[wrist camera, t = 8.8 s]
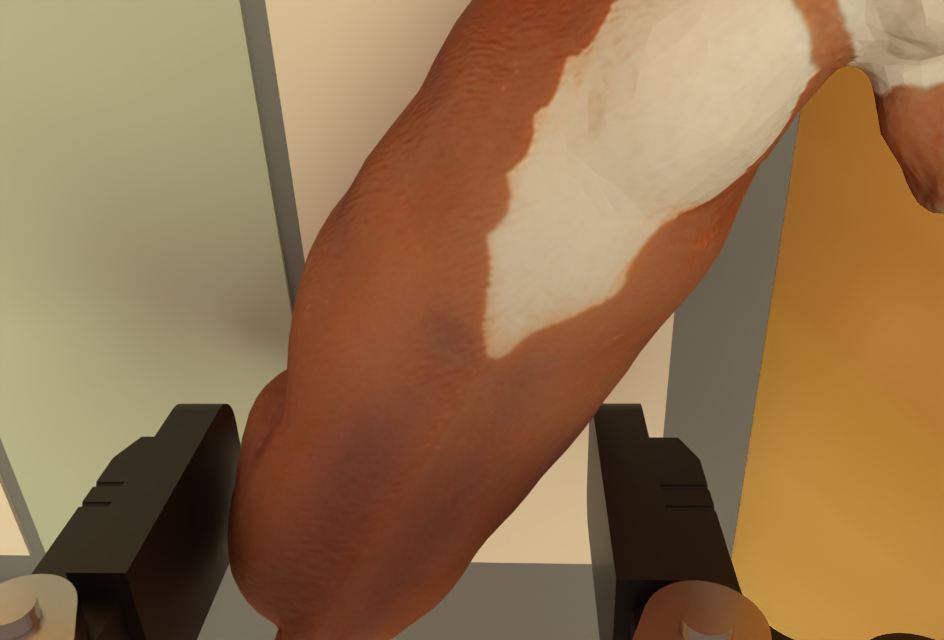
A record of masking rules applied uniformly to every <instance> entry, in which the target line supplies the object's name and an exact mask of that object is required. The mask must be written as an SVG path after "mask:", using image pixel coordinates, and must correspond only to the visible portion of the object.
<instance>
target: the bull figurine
mask: <svg viewBox="0 0 944 640" xmlns="http://www.w3.org/2000/svg"><path fill="white" fill-rule="evenodd" d="M844 66H852V67H857V68H860V69H862V70H863V71H864V72H865V73H866V74H867V75H868V76H869V78H870V81H871V83H872V87H873V92H874V96H875V102H876V108H877V114H878V120H879V125H880V131H881V135H882V136H883V138H884V140H885V141H886V143H887V145H888V146H889V148H890V150H891V151H892V153H893V155H894V156H895V158H896V159H897V161H898V163H899V164H900V166H901V168H902V170H903V173H904V176H905V179H906V181H907V184H908V186H909V188H910V190H911V192H912V193H913V195H914V197H915V198H916V200H917V202H918V203H919V204H920V205H921V206H923V207H924V208H926V209H927V210H928V211H930V212H933V213H944V0H471V2H470V3H469V4H468V6H467V7H466V8H465V10H464V11H463V13H462V14H461V15H460V17H459V18H458V19H457V21H456V22H455V24H454V25H453V27H452V29H451V31H450V33H449V34H448V36H447V38H446V40H445V42H444V43H443V45H442V47H441V49H440V51H439V52H438V54H437V56H436V58H435V60H434V62H433V64H432V66H431V68H430V70H429V72H428V74H427V76H426V78H425V80H424V82H423V84H422V86H421V88H420V90H419V91H418V93H417V94H416V95H415V97H414V98H413V99H412V100H411V102H410V103H409V104H408V105H407V107H406V108H405V109H404V110H403V112H402V113H401V114H400V115H399V117H398V118H397V119H396V120H395V122H394V123H393V124H392V125H391V127H390V128H389V129H388V131H387V132H386V133H385V135H384V136H383V137H382V139H381V140H380V141H379V142H378V144H377V145H376V146H375V148H374V149H373V150H372V152H371V153H370V154H369V156H368V157H367V158H366V160H365V161H364V163H363V165H362V167H361V169H360V170H359V172H358V174H357V176H356V177H355V179H354V181H353V183H352V184H351V186H350V188H349V189H348V191H347V192H346V193H345V195H344V196H343V197H342V198H341V200H340V201H339V202H338V203H337V205H336V206H335V207H334V208H333V210H332V211H331V213H330V214H329V216H328V218H327V219H326V221H325V223H324V224H323V226H322V228H321V229H320V231H319V233H318V235H317V237H316V239H315V241H314V243H313V245H312V247H311V249H310V251H309V254H308V257H307V259H306V262H305V265H304V268H303V270H302V273H301V277H300V282H299V286H298V290H297V295H296V300H295V305H294V310H293V316H292V321H291V328H290V334H289V343H288V359H287V369H286V370H284V371H283V372H281V373H280V374H278V375H277V376H276V377H275V378H273V379H272V380H271V381H270V382H269V383H268V384H267V385H266V386H265V387H264V388H263V389H262V391H261V392H260V393H259V395H258V396H257V397H256V400H255V402H254V404H253V406H252V408H251V410H250V412H249V415H248V419H247V422H246V426H245V429H244V433H243V437H242V442H241V449H240V456H239V462H238V468H237V473H236V479H235V486H234V491H233V494H232V498H231V505H230V512H229V518H228V531H227V540H228V554H229V561H230V568H231V572H232V576H233V578H234V580H235V582H236V584H237V586H238V588H239V590H240V592H241V593H242V595H243V596H244V598H245V599H246V601H247V602H248V603H249V604H250V605H251V606H252V607H253V608H254V609H255V610H256V611H257V612H258V613H259V614H260V615H262V616H263V617H265V618H266V619H267V620H269V621H270V622H272V623H273V624H275V625H276V627H277V628H278V631H277V634H276V637H275V640H390V639H392V638H394V637H396V636H397V635H398V634H399V633H401V632H402V631H403V630H405V629H406V628H407V627H409V626H410V625H411V624H413V623H414V622H416V621H417V620H418V619H420V618H421V617H423V616H424V615H425V614H427V613H428V612H430V611H431V610H432V609H433V608H435V607H436V606H437V605H438V604H439V603H440V602H441V601H442V600H443V599H444V598H445V597H446V596H447V595H448V593H449V592H450V591H451V590H452V589H453V587H454V586H455V585H456V583H457V582H458V581H459V579H460V578H461V576H462V575H463V574H464V572H465V570H466V569H467V567H468V566H469V564H470V562H471V561H472V559H473V558H474V556H475V555H476V553H477V552H478V550H479V549H480V548H481V547H482V545H483V544H484V543H485V542H486V540H487V539H488V538H489V537H490V536H491V535H492V534H493V533H494V532H495V531H496V530H497V529H498V528H499V526H500V525H501V524H502V523H503V522H504V521H505V520H506V519H507V518H508V517H509V516H510V515H511V514H512V513H513V512H514V511H515V510H516V508H517V507H518V506H519V505H520V504H521V503H522V501H523V500H524V499H525V498H526V497H527V496H528V494H529V493H530V492H531V490H532V489H533V488H534V487H535V485H536V484H537V483H538V481H539V480H540V479H541V478H542V476H543V475H544V474H545V473H546V472H547V471H548V470H549V469H550V468H551V467H552V465H553V464H554V463H555V462H556V461H557V460H558V459H559V458H560V457H561V456H562V455H563V454H564V452H565V451H566V450H567V449H568V448H569V447H570V446H571V444H572V443H573V442H574V441H575V440H576V438H577V437H578V436H579V435H580V434H581V432H582V431H583V430H584V429H585V427H586V426H587V425H588V423H589V422H590V421H591V419H592V418H593V416H594V415H595V414H596V412H597V411H598V409H599V408H600V406H601V405H602V403H603V402H604V401H605V399H606V398H607V397H608V395H609V394H610V393H611V392H612V390H613V389H614V388H615V387H616V385H617V384H618V383H619V382H620V380H621V379H622V378H623V377H624V375H625V374H626V373H627V371H628V370H629V368H630V367H631V365H632V364H633V362H634V361H635V359H636V358H637V356H638V355H639V353H640V352H641V351H642V350H643V348H644V347H645V346H646V345H647V343H648V342H649V341H650V340H651V338H652V337H653V336H654V335H655V333H656V332H657V331H658V330H659V328H660V327H661V326H662V325H663V324H664V323H665V322H666V320H667V319H668V318H669V317H670V316H671V315H672V314H673V313H674V312H675V311H676V309H677V308H678V307H679V306H680V305H681V304H682V303H683V301H684V300H685V299H686V298H687V297H688V295H689V294H690V293H691V292H692V291H693V289H694V288H695V287H696V286H697V285H698V283H699V282H700V281H701V280H702V279H703V277H704V276H705V275H706V274H707V272H708V271H709V269H710V267H711V266H712V264H713V263H714V261H715V259H716V258H717V256H718V255H719V253H720V251H721V250H722V248H723V246H724V243H725V241H726V239H727V237H728V234H729V232H730V230H731V227H732V225H733V223H734V220H735V217H736V215H737V212H738V210H739V207H740V205H741V202H742V200H743V198H744V196H745V194H746V192H747V190H748V188H749V186H750V184H751V182H752V181H753V179H754V177H755V174H756V172H757V170H758V168H759V166H760V164H761V162H763V161H764V160H766V159H767V157H768V156H769V154H770V153H771V152H772V150H773V149H774V147H775V146H776V144H777V143H778V141H779V140H780V138H781V137H782V136H783V134H784V133H785V132H786V131H787V130H788V128H789V126H790V125H791V123H792V121H793V120H794V118H795V116H796V114H797V113H798V112H799V110H800V109H801V108H802V107H803V106H804V105H805V104H806V102H807V101H808V100H809V99H810V98H811V97H812V96H813V94H814V93H815V92H816V91H817V90H818V89H819V88H820V87H821V85H822V84H823V83H824V82H825V81H826V80H827V78H828V77H829V76H830V75H832V74H833V73H834V72H835V71H836V70H837V69H840V68H842V67H844Z"/></svg>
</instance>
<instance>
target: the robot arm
mask: <svg viewBox="0 0 944 640" xmlns="http://www.w3.org/2000/svg"><path fill="white" fill-rule="evenodd" d="M240 449H241V444H240V439H239V434H238V429H237V424H236V419H235V415H234V412H233V409H232V408H231V406H230V405H229V404H177V405H176V406H175V407H174V408H173V409H172V411H171V412H170V414H169V415H168V417H167V418H166V420H165V421H164V423H163V424H162V426H161V428H160V429H159V431H158V432H157V434H156V435H155V437H140V438H139V439H138V440H136V441H135V442H134V443H132V444H131V445H130V446H128V447H127V448H125V449H124V450H123V451H121V452H120V453H119V454H117V455H116V456H115V457H113V459H112V460H111V461H110V463H109V464H108V466H107V467H106V469H105V470H104V471H103V473H102V474H101V476H100V477H99V479H98V480H97V481H96V487H92V488H91V490H90V491H89V493H88V494H87V496H86V497H85V498H84V500H83V501H82V507H78V508H77V510H76V511H75V513H74V514H73V515H72V517H71V518H70V520H69V521H68V523H67V524H66V525H65V527H64V528H63V530H62V531H61V532H60V534H59V535H58V537H57V538H56V540H55V541H54V542H53V544H52V545H51V547H50V548H49V550H48V551H47V552H46V554H45V555H44V557H43V558H42V559H41V561H40V562H39V564H38V565H37V567H36V568H35V569H34V571H33V572H32V574H31V575H26V576H21V577H18V578H14V579H11V580H8V581H6V582H3V583H1V584H0V640H197V638H198V636H199V633H200V631H201V629H202V626H203V624H204V622H205V619H206V617H207V615H208V612H209V610H210V608H211V605H212V603H213V601H214V598H215V596H216V593H217V591H218V589H219V586H220V584H221V582H222V579H223V577H224V575H225V572H226V570H227V568H228V565H229V563H230V561H229V554H228V540H227V531H228V518H229V512H230V505H231V498H232V494H233V491H234V486H235V479H236V473H237V468H238V462H239V456H240ZM587 521H588V533H589V543H590V553H591V562H592V572H593V581H594V591H595V600H596V610H597V619H598V629H599V638H600V640H793V639H791V638H789V637H787V636H785V635H783V634H781V633H779V632H778V631H776V630H774V629H773V628H772V627H770V626H769V624H768V622H767V620H766V618H765V617H764V615H763V613H762V612H761V611H760V610H759V609H758V607H757V606H756V605H755V604H754V603H753V602H751V601H750V600H749V599H748V598H746V597H745V596H743V595H742V592H741V590H740V587H739V584H738V581H737V577H736V574H735V571H734V568H733V564H732V561H731V558H730V555H729V552H728V548H727V545H726V542H725V539H724V536H723V532H722V529H721V526H720V523H719V519H718V516H717V513H716V511H714V503H713V500H712V497H711V494H710V491H709V490H708V484H707V481H706V478H705V474H704V471H703V468H702V465H701V462H700V459H699V458H698V457H697V456H696V455H695V454H694V453H693V452H692V451H691V450H690V449H689V448H688V447H687V446H686V445H685V444H684V443H683V442H682V441H681V440H680V439H679V438H678V437H649V435H648V431H647V426H646V422H645V418H644V413H643V409H642V406H641V404H640V403H602V405H601V406H600V408H599V409H598V411H597V412H596V414H595V415H594V416H593V418H592V419H591V421H590V422H589V438H588V468H587ZM871 640H934V639H931V638H927V637H924V636H919V635H914V634H905V633H893V634H885V635H881V636H877V637H875V638H873V639H871Z"/></svg>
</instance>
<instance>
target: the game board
mask: <svg viewBox="0 0 944 640" xmlns="http://www.w3.org/2000/svg"><path fill="white" fill-rule="evenodd" d="M470 2H471V0H0V584H1V583H3V582H6V581H8V580H11V579H14V578H18V577H21V576H26V575H31V574H32V572H33V571H34V569H35V568H36V567H37V565H38V564H39V562H40V561H41V559H42V558H43V557H44V555H45V554H46V552H47V551H48V550H49V548H50V547H51V545H52V544H53V542H54V541H55V540H56V538H57V537H58V535H59V534H60V532H61V531H62V530H63V528H64V527H65V525H66V524H67V523H68V521H69V520H70V518H71V517H72V515H73V514H74V513H75V511H76V510H77V508H78V507H82V501H83V500H84V498H85V497H86V496H87V494H88V493H89V491H90V490H91V488H92V487H96V481H97V480H98V479H99V477H100V476H101V474H102V473H103V471H104V470H105V469H106V467H107V466H108V464H109V463H110V461H111V460H112V459H113V457H115V456H116V455H117V454H119V453H120V452H121V451H123V450H124V449H125V448H127V447H128V446H130V445H131V444H132V443H134V442H135V441H136V440H138V439H139V438H140V437H155V435H156V434H157V432H158V431H159V429H160V428H161V426H162V424H163V423H164V421H165V420H166V418H167V417H168V415H169V414H170V412H171V411H172V409H173V408H174V407H175V406H176V405H177V404H229V405H230V406H231V408H232V409H233V412H234V415H235V419H236V424H237V429H238V434H239V439H240V444H241V442H242V437H243V433H244V429H245V426H246V422H247V419H248V415H249V412H250V410H251V408H252V406H253V404H254V402H255V400H256V397H257V396H258V395H259V393H260V392H261V391H262V389H263V388H264V387H265V386H266V385H267V384H268V383H269V382H270V381H271V380H272V379H273V378H275V377H276V376H277V375H278V374H280V373H281V372H283V371H284V370H286V369H287V359H288V343H289V334H290V328H291V321H292V316H293V310H294V305H295V300H296V295H297V290H298V286H299V282H300V277H301V273H302V270H303V268H304V265H305V262H306V259H307V257H308V254H309V251H310V249H311V247H312V245H313V243H314V241H315V239H316V237H317V235H318V233H319V231H320V229H321V228H322V226H323V224H324V223H325V221H326V219H327V218H328V216H329V214H330V213H331V211H332V210H333V208H334V207H335V206H336V205H337V203H338V202H339V201H340V200H341V198H342V197H343V196H344V195H345V193H346V192H347V191H348V189H349V188H350V186H351V184H352V183H353V181H354V179H355V177H356V176H357V174H358V172H359V170H360V169H361V167H362V165H363V163H364V161H365V160H366V158H367V157H368V156H369V154H370V153H371V152H372V150H373V149H374V148H375V146H376V145H377V144H378V142H379V141H380V140H381V139H382V137H383V136H384V135H385V133H386V132H387V131H388V129H389V128H390V127H391V125H392V124H393V123H394V122H395V120H396V119H397V118H398V117H399V115H400V114H401V113H402V112H403V110H404V109H405V108H406V107H407V105H408V104H409V103H410V102H411V100H412V99H413V98H414V97H415V95H416V94H417V93H418V91H419V90H420V88H421V86H422V84H423V82H424V80H425V78H426V76H427V74H428V72H429V70H430V68H431V66H432V64H433V62H434V60H435V58H436V56H437V54H438V52H439V51H440V49H441V47H442V45H443V43H444V42H445V40H446V38H447V36H448V34H449V33H450V31H451V29H452V27H453V25H454V24H455V22H456V21H457V19H458V18H459V17H460V15H461V14H462V13H463V11H464V10H465V8H466V7H467V6H468V4H469V3H470ZM800 110H801V109H800ZM800 110H799V112H798V113H797V114H796V116H795V118H794V120H793V121H792V123H791V125H790V126H789V128H788V130H787V131H786V132H785V133H784V134H783V136H782V137H781V138H780V140H779V141H778V143H777V144H776V146H775V147H774V149H773V150H772V152H771V153H770V154H769V156H768V157H767V159H766V160H764V161H763V162H761V164H760V166H759V168H758V170H757V172H756V174H755V177H754V179H753V181H752V182H751V184H750V186H749V188H748V190H747V192H746V194H745V196H744V198H743V200H742V202H741V205H740V207H739V210H738V212H737V215H736V217H735V220H734V223H733V225H732V227H731V230H730V232H729V234H728V237H727V239H726V241H725V243H724V246H723V248H722V250H721V251H720V253H719V255H718V256H717V258H716V259H715V261H714V263H713V264H712V266H711V267H710V269H709V271H708V272H707V274H706V275H705V276H704V277H703V279H702V280H701V281H700V282H699V283H698V285H697V286H696V287H695V288H694V289H693V291H692V292H691V293H690V294H689V295H688V297H687V298H686V299H685V300H684V301H683V303H682V304H681V305H680V306H679V307H678V308H677V309H676V311H675V312H674V313H673V314H672V315H671V316H670V317H669V318H668V319H667V320H666V322H665V323H664V324H663V325H662V326H661V327H660V328H659V330H658V331H657V332H656V333H655V335H654V336H653V337H652V338H651V340H650V341H649V342H648V343H647V345H646V346H645V347H644V348H643V350H642V351H641V352H640V353H639V355H638V356H637V358H636V359H635V361H634V362H633V364H632V365H631V367H630V368H629V370H628V371H627V373H626V374H625V375H624V377H623V378H622V379H621V380H620V382H619V383H618V384H617V385H616V387H615V388H614V389H613V390H612V392H611V393H610V394H609V395H608V397H607V398H606V399H605V401H604V402H603V403H640V404H641V406H642V409H643V413H644V418H645V422H646V426H647V431H648V435H649V437H678V438H679V439H680V440H681V441H682V442H683V443H684V444H685V445H686V446H687V447H688V448H689V449H690V450H691V451H692V452H693V453H694V454H695V455H696V456H697V457H698V458H699V459H700V462H701V465H702V468H703V471H704V474H705V478H706V481H707V484H708V490H709V491H710V494H711V497H712V500H713V503H714V511H716V513H717V516H718V519H719V523H720V526H721V529H722V532H723V536H724V539H725V542H726V545H727V548H728V552H729V555H730V558H731V557H732V551H733V544H734V538H735V531H736V525H737V518H738V512H739V505H740V499H741V492H742V486H743V479H744V473H745V466H746V460H747V453H748V447H749V440H750V434H751V427H752V421H753V414H754V408H755V401H756V395H757V388H758V382H759V376H760V369H761V363H762V356H763V350H764V343H765V337H766V330H767V324H768V317H769V311H770V304H771V298H772V291H773V285H774V278H775V272H776V265H777V259H778V252H779V246H780V239H781V233H782V226H783V220H784V213H785V207H786V200H787V194H788V187H789V181H790V174H791V168H792V161H793V155H794V149H795V142H796V136H797V129H798V123H799V116H800ZM588 438H589V423H588V425H587V426H586V427H585V429H584V430H583V431H582V432H581V434H580V435H579V436H578V437H577V438H576V440H575V441H574V442H573V443H572V444H571V446H570V447H569V448H568V449H567V450H566V451H565V452H564V454H563V455H562V456H561V457H560V458H559V459H558V460H557V461H556V462H555V463H554V464H553V465H552V467H551V468H550V469H549V470H548V471H547V472H546V473H545V474H544V475H543V476H542V478H541V479H540V480H539V481H538V483H537V484H536V485H535V487H534V488H533V489H532V490H531V492H530V493H529V494H528V496H527V497H526V498H525V499H524V500H523V501H522V503H521V504H520V505H519V506H518V507H517V508H516V510H515V511H514V512H513V513H512V514H511V515H510V516H509V517H508V518H507V519H506V520H505V521H504V522H503V523H502V524H501V525H500V526H499V528H498V529H497V530H496V531H495V532H494V533H493V534H492V535H491V536H490V537H489V538H488V539H487V540H486V542H485V543H484V544H483V545H482V547H481V548H480V549H479V550H478V552H477V553H476V555H475V556H474V558H473V559H472V561H471V562H470V564H469V566H468V567H467V569H466V570H465V572H464V574H463V575H462V576H461V578H460V579H459V581H458V582H457V583H456V585H455V586H454V587H453V589H452V590H451V591H450V592H449V593H448V595H447V596H446V597H445V598H444V599H443V600H442V601H441V602H440V603H439V604H438V605H437V606H436V607H435V608H433V609H432V610H431V611H430V612H428V613H427V614H425V615H424V616H423V617H421V618H420V619H418V620H417V621H416V622H414V623H413V624H411V625H410V626H409V627H407V628H406V629H405V630H403V631H402V632H401V633H399V634H398V635H397V636H396V637H394V638H392V639H390V640H600V638H599V629H598V619H597V610H596V600H595V591H594V581H593V572H592V562H591V553H590V543H589V533H588V521H587V468H588ZM277 631H278V628H277V627H276V625H275V624H273V623H272V622H270V621H269V620H267V619H266V618H265V617H263V616H262V615H260V614H259V613H258V612H257V611H256V610H255V609H254V608H253V607H252V606H251V605H250V604H249V603H248V602H247V601H246V599H245V598H244V596H243V595H242V593H241V592H240V590H239V588H238V586H237V584H236V582H235V580H234V578H233V576H232V572H231V568H230V563H229V565H228V568H227V570H226V572H225V575H224V577H223V579H222V582H221V584H220V586H219V589H218V591H217V593H216V596H215V598H214V601H213V603H212V605H211V608H210V610H209V612H208V615H207V617H206V619H205V622H204V624H203V626H202V629H201V631H200V633H199V636H198V638H197V640H275V637H276V634H277Z"/></svg>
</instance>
